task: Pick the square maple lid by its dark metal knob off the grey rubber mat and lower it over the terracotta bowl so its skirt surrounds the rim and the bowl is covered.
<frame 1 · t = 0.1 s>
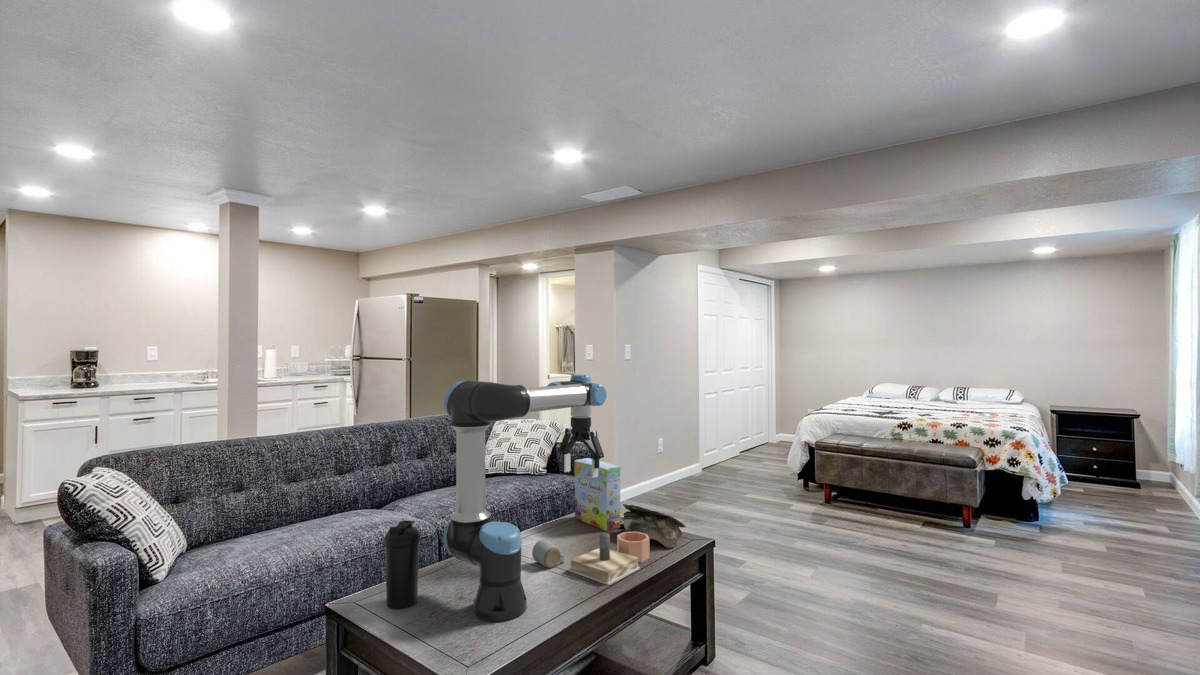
hand: (580, 474, 210), 28 cm above the table, fingers open, 13 cm apart
snack box: (596, 524, 241), on the table
water bottle: (402, 603, 167), on the table
lid: (604, 568, 192), point 1 cm above the table, touching mat
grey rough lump: (651, 539, 223), on the table
mat: (604, 570, 192), on the table
ceramic mug: (550, 564, 197), on the table
bowl: (633, 556, 204), on the table
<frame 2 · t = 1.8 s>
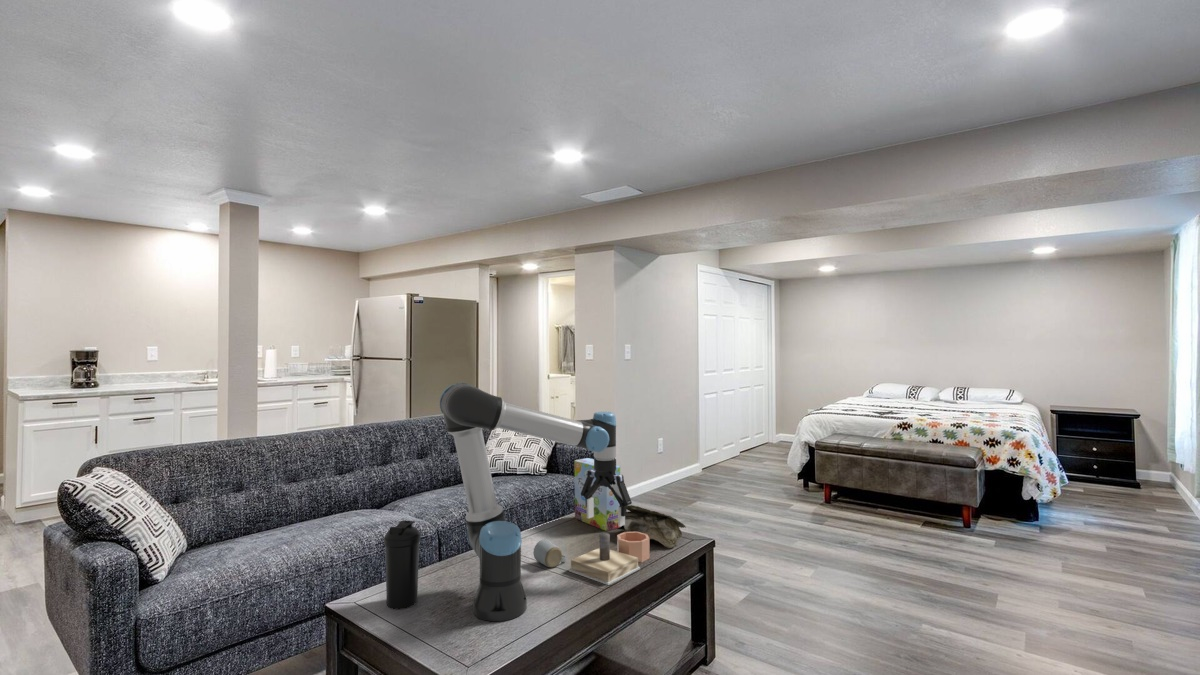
hand: (605, 521, 192), 16 cm above the table, fingers open, 13 cm apart
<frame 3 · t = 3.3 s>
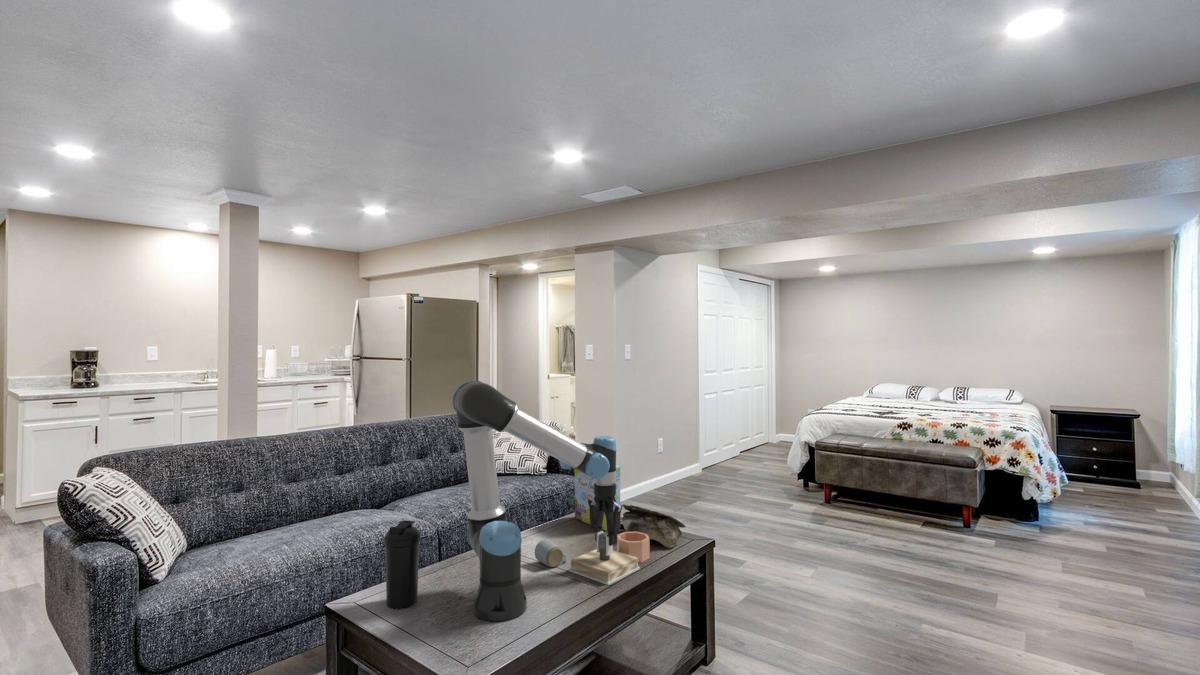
hand: (604, 552, 192), 6 cm above the table, fingers closed on lid, 3 cm apart
lid: (604, 568, 192), point 1 cm above the table, touching gripper, mat
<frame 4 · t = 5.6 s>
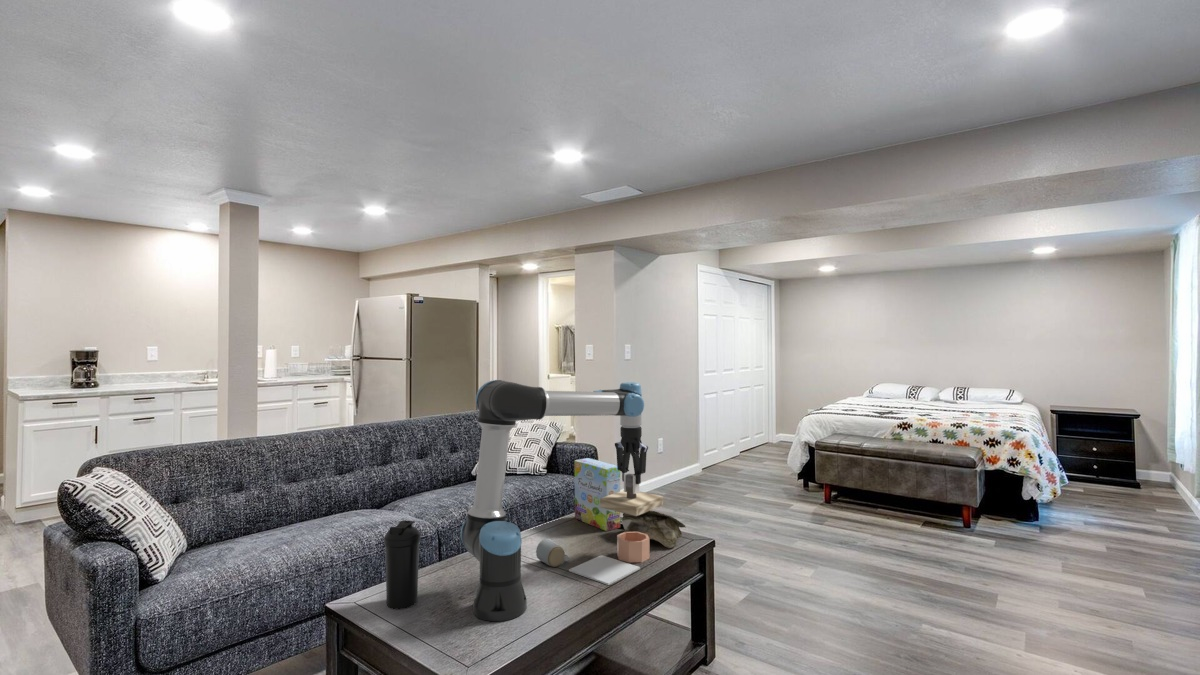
hand: (631, 491, 203), 23 cm above the table, fingers closed on lid, 3 cm apart
lid: (631, 506, 203), point 18 cm above the table, touching gripper
when the fingers open (11 cm above the table, at t = 8.1 s): lid drops 1 cm, resting on bowl.
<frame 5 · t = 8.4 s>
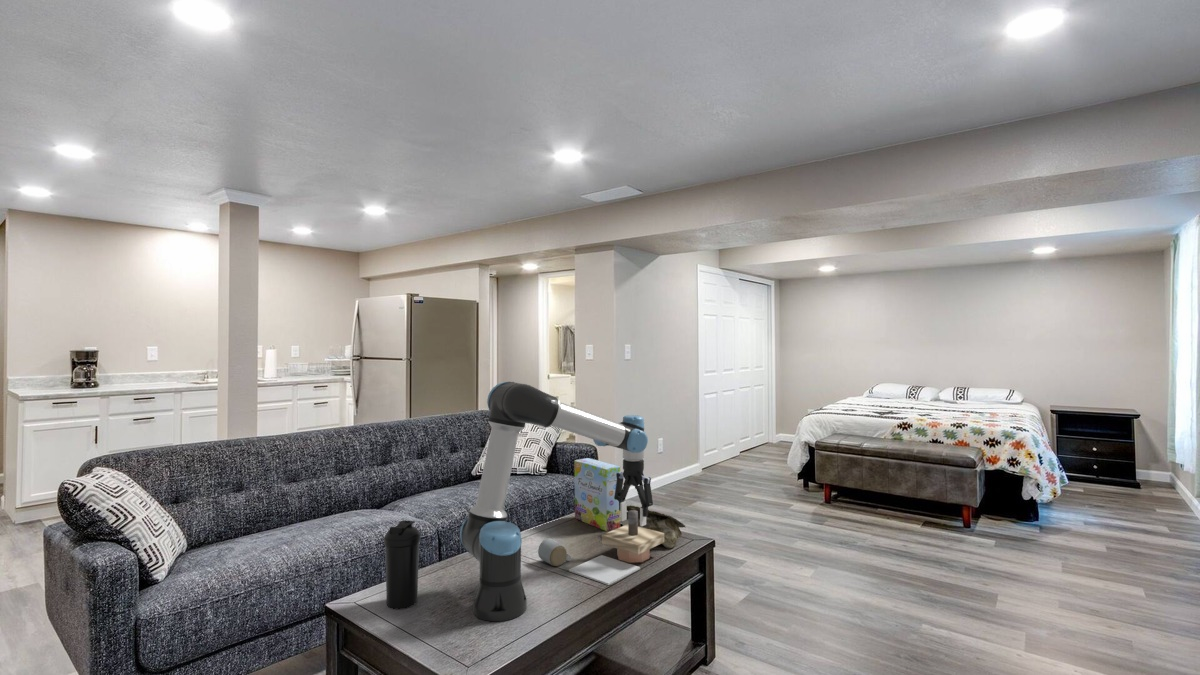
hand: (633, 522, 204), 12 cm above the table, fingers open, 8 cm apart
lid: (633, 542, 204), point 5 cm above the table, touching bowl
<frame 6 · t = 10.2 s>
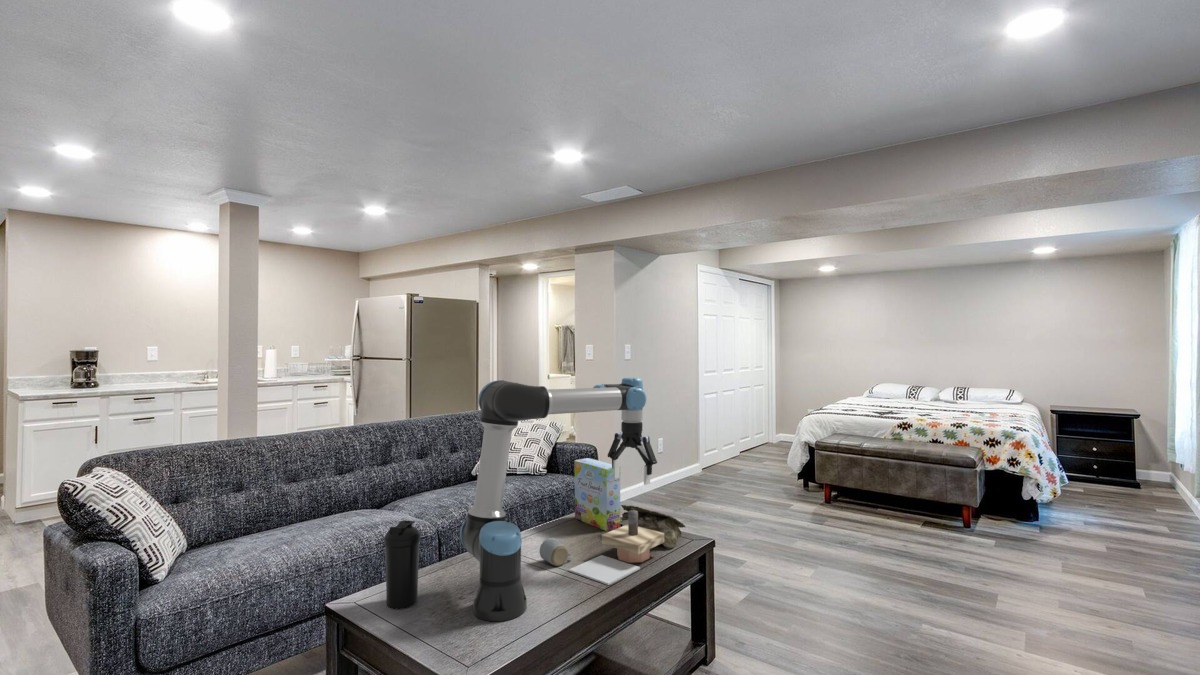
hand: (631, 480, 204), 27 cm above the table, fingers open, 13 cm apart
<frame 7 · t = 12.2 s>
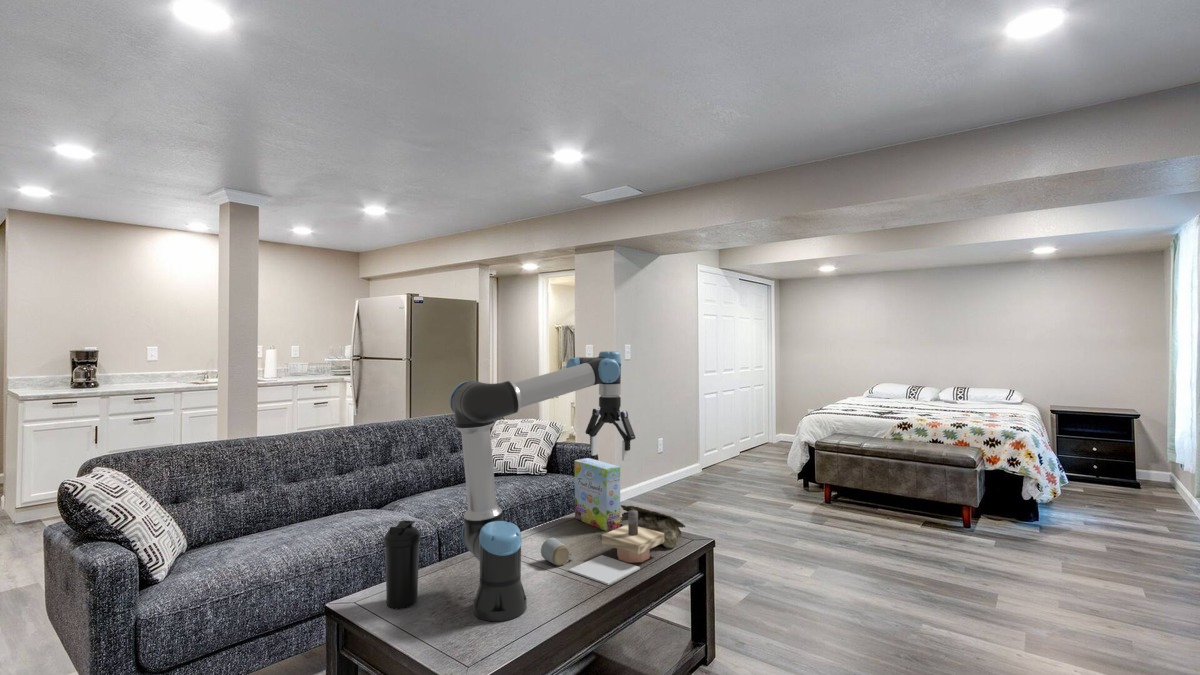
hand: (609, 457, 197), 37 cm above the table, fingers open, 13 cm apart
at the end: lid inside the target area on the bowl (0.0 cm from its centre), point 4.8 cm above the bowl's base; lid tilted 0°; lid touching bowl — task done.
